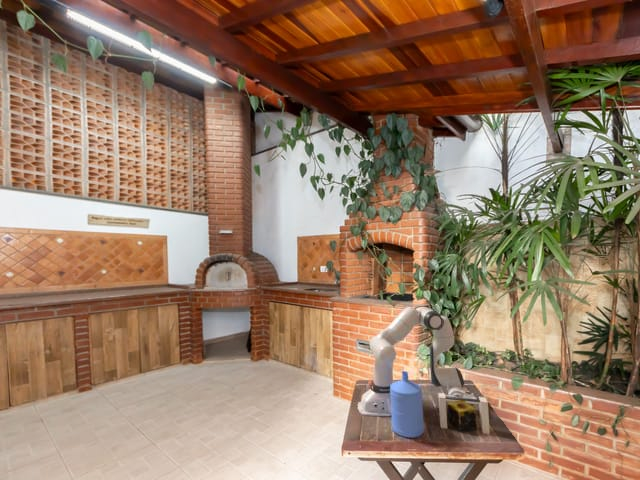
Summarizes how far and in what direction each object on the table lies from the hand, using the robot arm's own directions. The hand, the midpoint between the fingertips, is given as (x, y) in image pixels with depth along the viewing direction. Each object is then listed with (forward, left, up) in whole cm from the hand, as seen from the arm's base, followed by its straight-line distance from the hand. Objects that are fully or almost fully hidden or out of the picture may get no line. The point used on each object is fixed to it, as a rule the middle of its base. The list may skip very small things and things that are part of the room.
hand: (460, 409), depth 159 cm
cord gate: (-3, -8, -5) cm, 10 cm away
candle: (-3, -6, -5) cm, 8 cm away
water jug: (-31, -6, -5) cm, 32 cm away
